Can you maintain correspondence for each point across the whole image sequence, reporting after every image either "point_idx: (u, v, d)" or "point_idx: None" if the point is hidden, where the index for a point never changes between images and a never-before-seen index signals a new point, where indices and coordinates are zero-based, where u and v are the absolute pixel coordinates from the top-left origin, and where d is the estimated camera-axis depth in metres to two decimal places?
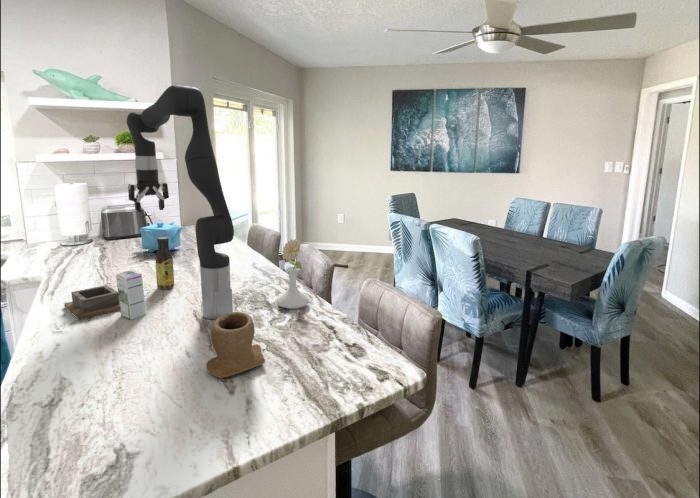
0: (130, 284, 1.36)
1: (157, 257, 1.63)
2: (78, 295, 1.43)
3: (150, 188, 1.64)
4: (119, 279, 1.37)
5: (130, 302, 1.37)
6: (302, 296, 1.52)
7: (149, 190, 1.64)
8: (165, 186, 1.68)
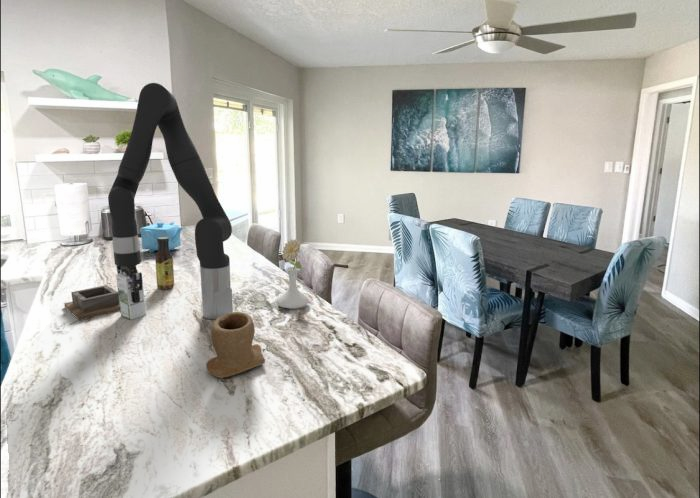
0: None
1: (157, 257, 1.63)
2: (78, 295, 1.43)
3: None
4: (119, 279, 1.37)
5: (130, 302, 1.37)
6: (302, 296, 1.52)
7: None
8: None
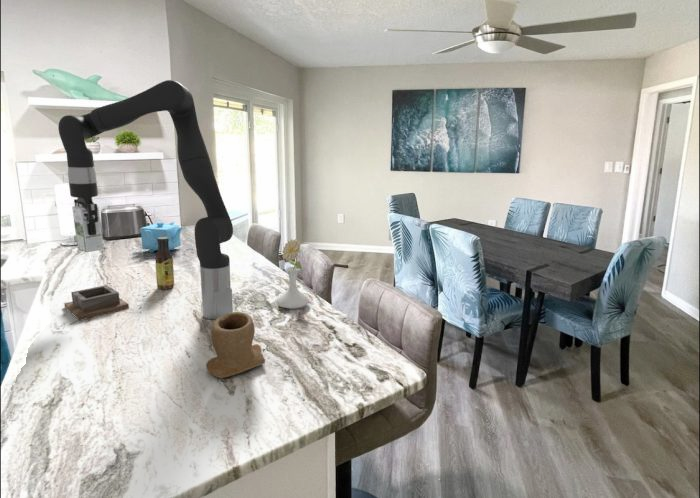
0: None
1: (157, 257, 1.63)
2: (78, 295, 1.43)
3: None
4: (75, 211, 1.37)
5: (86, 234, 1.38)
6: (302, 296, 1.52)
7: None
8: None
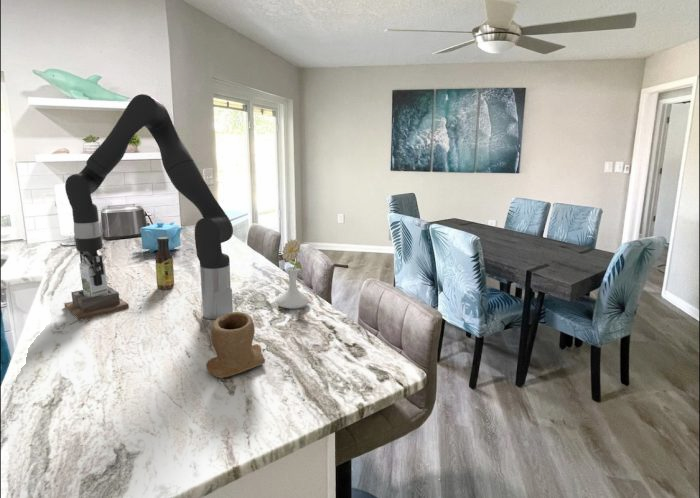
0: None
1: (157, 257, 1.63)
2: (78, 295, 1.43)
3: None
4: (82, 268, 1.42)
5: (92, 290, 1.42)
6: (302, 296, 1.52)
7: None
8: None
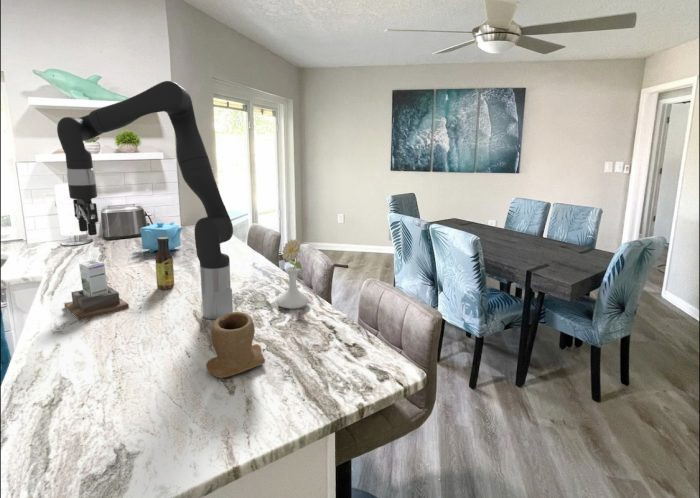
0: (92, 273, 1.41)
1: (157, 257, 1.63)
2: (78, 295, 1.43)
3: None
4: (82, 268, 1.42)
5: (92, 290, 1.42)
6: (302, 296, 1.52)
7: None
8: None
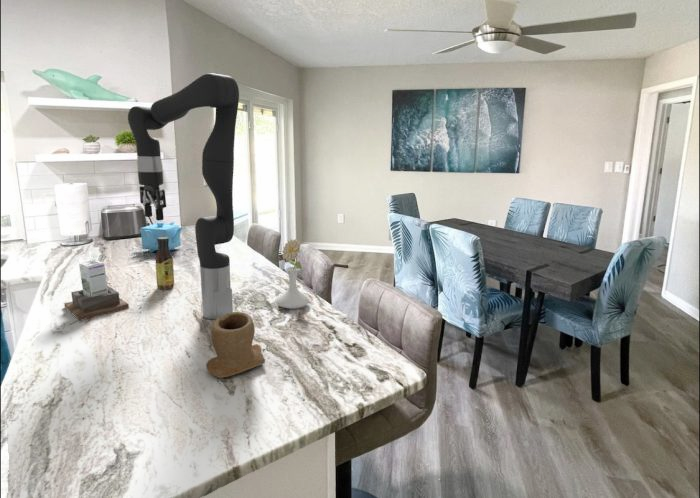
0: (92, 273, 1.41)
1: (157, 257, 1.63)
2: (78, 295, 1.43)
3: None
4: (82, 268, 1.42)
5: (92, 290, 1.42)
6: (302, 296, 1.52)
7: None
8: None
